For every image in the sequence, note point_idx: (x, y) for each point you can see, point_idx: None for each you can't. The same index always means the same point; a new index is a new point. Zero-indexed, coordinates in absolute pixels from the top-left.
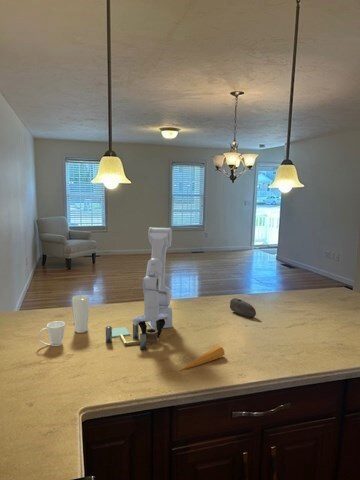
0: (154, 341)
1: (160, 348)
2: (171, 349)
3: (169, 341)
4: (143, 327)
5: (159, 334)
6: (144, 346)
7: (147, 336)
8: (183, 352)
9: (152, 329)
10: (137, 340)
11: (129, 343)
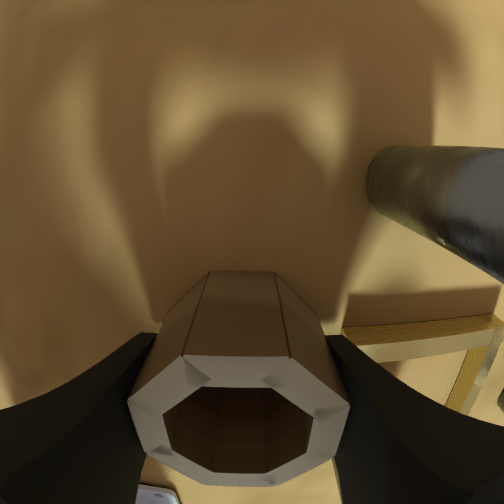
0: (222, 283)
1: (190, 126)
2: (85, 74)
3: (56, 275)
4: (494, 442)
5: (123, 353)
6: (418, 146)
7: (323, 354)
8: (28, 10)
9: (204, 465)
10: (403, 357)
11: (471, 326)
